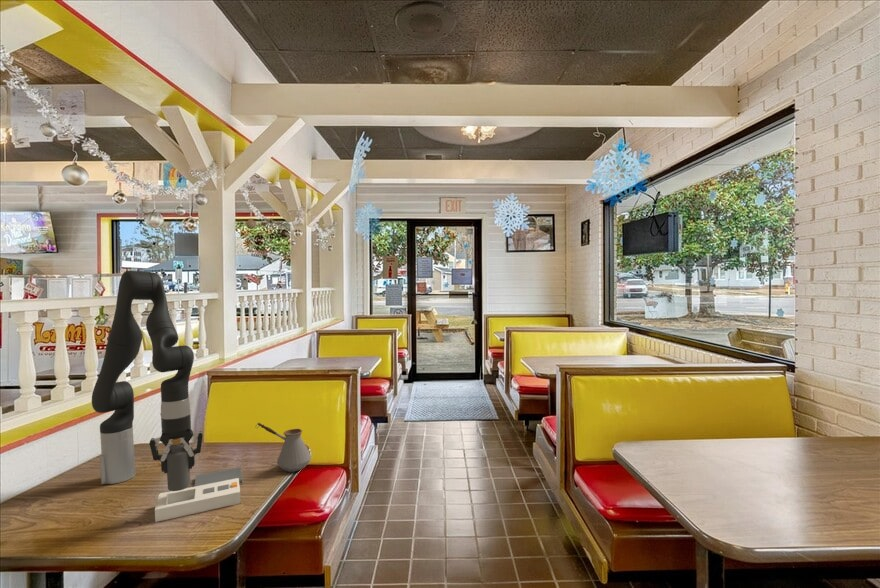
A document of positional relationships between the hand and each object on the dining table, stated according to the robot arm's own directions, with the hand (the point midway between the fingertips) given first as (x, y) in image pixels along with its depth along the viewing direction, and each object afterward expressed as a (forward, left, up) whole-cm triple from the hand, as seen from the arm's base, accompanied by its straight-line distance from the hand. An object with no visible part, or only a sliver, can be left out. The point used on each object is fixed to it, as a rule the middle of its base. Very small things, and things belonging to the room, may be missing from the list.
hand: (178, 469), depth 137 cm
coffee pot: (+31, +17, -12) cm, 38 cm away
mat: (+10, +15, -12) cm, 21 cm away
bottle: (0, 0, -5) cm, 5 cm away
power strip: (+5, 0, -12) cm, 13 cm away
